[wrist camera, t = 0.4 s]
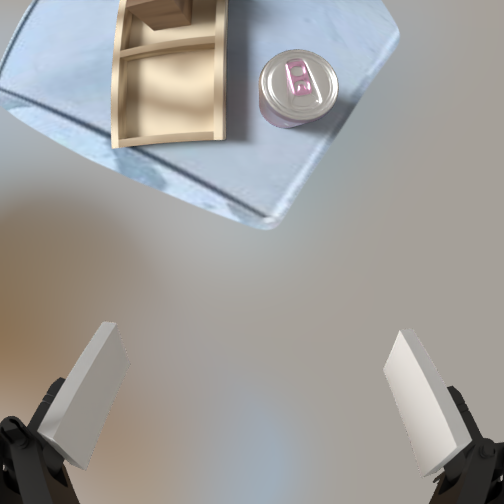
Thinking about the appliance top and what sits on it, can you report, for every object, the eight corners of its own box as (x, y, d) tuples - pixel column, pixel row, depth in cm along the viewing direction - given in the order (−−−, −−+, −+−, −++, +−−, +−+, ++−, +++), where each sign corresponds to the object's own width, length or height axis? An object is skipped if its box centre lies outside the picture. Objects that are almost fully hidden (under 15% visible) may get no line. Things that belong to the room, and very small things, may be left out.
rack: (132, -9, 23) (123, -18, 20) (229, -25, 23) (227, -36, 20) (123, 146, 33) (111, 148, 30) (226, 139, 33) (222, 139, 30)
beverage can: (301, 79, 29) (330, 43, 16) (312, 123, 32) (349, 116, 18) (254, 87, 30) (250, 54, 16) (265, 132, 32) (269, 129, 19)
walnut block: (156, 2, 24) (131, -26, 16) (193, -4, 24) (175, -36, 16) (153, 31, 26) (125, 7, 18) (191, 25, 26) (171, -3, 18)
